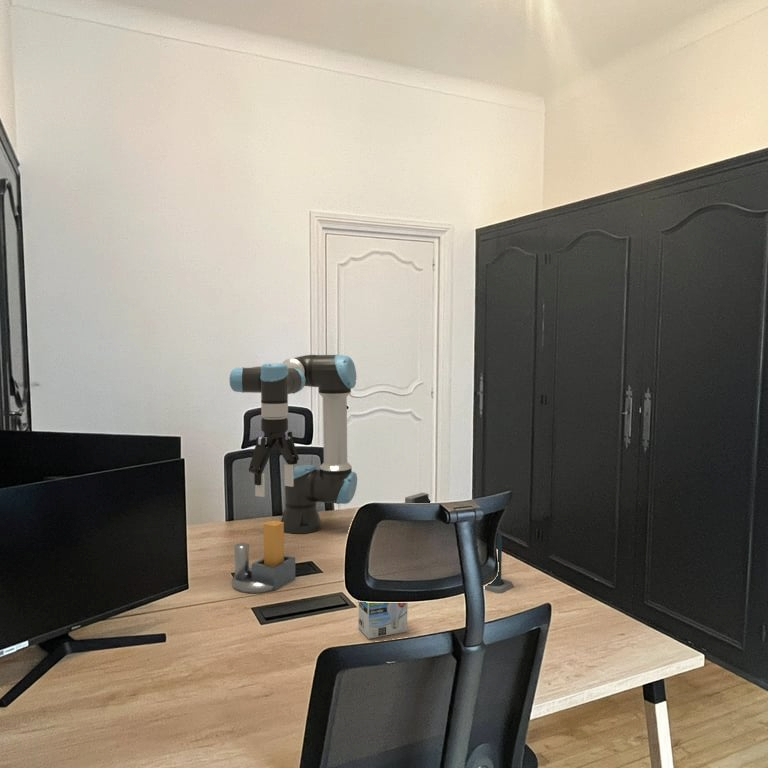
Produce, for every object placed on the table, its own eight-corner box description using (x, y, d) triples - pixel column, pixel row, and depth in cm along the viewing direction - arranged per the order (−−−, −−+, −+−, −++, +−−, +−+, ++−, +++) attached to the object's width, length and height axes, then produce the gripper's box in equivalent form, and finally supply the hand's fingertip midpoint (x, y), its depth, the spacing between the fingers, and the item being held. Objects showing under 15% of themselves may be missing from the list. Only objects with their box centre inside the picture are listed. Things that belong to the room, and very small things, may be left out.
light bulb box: (368, 640, 149) (368, 595, 148) (357, 628, 155) (357, 585, 154) (408, 631, 154) (409, 588, 153) (396, 620, 160) (396, 578, 159)
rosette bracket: (254, 570, 193) (254, 534, 192) (295, 579, 186) (295, 542, 185) (220, 587, 180) (220, 549, 179) (263, 597, 173) (263, 558, 172)
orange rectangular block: (272, 573, 186) (272, 520, 185) (283, 576, 184) (283, 522, 183) (264, 578, 183) (263, 523, 182) (275, 580, 181) (275, 525, 180)
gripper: (289, 412, 193) (290, 480, 195) (235, 421, 171) (235, 499, 173) (310, 413, 190) (310, 483, 191) (257, 423, 168) (257, 502, 169)
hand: (275, 491), depth 182 cm, fingers open, 13 cm apart
